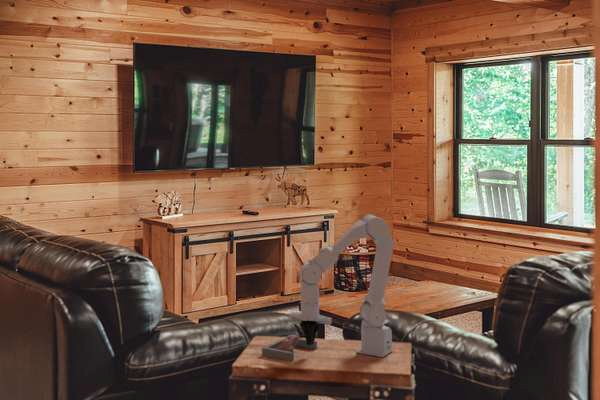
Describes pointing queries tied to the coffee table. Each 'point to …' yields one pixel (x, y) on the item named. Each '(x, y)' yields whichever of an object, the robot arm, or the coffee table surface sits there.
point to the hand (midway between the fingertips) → (310, 344)
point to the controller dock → (285, 355)
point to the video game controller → (289, 343)
